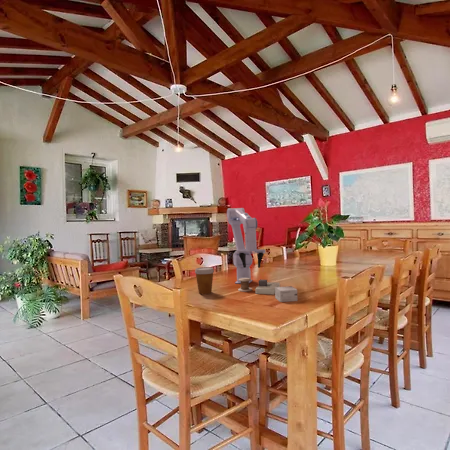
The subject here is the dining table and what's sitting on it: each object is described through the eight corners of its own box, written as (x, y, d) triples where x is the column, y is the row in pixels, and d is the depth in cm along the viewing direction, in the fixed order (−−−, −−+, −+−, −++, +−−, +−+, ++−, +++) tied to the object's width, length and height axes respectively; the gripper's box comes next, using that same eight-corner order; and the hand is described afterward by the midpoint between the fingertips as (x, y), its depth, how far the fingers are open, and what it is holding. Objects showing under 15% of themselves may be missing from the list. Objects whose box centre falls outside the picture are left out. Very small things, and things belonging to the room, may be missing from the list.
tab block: (260, 289, 167) (260, 279, 167) (267, 289, 166) (267, 279, 166) (258, 291, 163) (258, 281, 163) (265, 291, 162) (265, 281, 162)
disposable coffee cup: (217, 290, 167) (216, 267, 166) (211, 295, 157) (210, 270, 157) (199, 290, 169) (198, 267, 169) (192, 294, 160) (191, 269, 160)
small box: (280, 302, 140) (279, 290, 140) (274, 298, 148) (274, 286, 148) (297, 301, 141) (297, 289, 141) (291, 297, 149) (291, 285, 149)
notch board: (262, 286, 173) (262, 282, 172) (279, 287, 170) (279, 282, 170) (255, 293, 157) (255, 288, 157) (274, 294, 154) (274, 289, 154)
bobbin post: (240, 288, 171) (239, 277, 171) (253, 288, 168) (253, 277, 168) (236, 291, 164) (236, 280, 164) (250, 291, 162) (249, 280, 162)
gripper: (235, 242, 170) (236, 268, 170) (263, 241, 166) (264, 268, 166) (239, 241, 177) (240, 266, 177) (265, 240, 172) (266, 266, 172)
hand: (251, 267), depth 172 cm, fingers open, 7 cm apart
